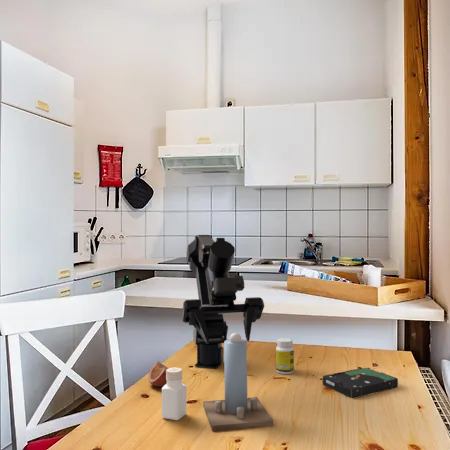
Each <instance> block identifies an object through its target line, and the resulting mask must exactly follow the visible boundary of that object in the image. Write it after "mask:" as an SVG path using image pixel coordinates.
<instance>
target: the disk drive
mask: <svg viewBox="0 0 450 450" xmlns="http://www.w3.org/2000/svg"><path fill="white" fill-rule="evenodd" d="M322 385H323V386H324V387H327V388H328V389H331V390H333V391H335V392H336V393H339V394H341V395H344V396H346V397H348V398H350V399H357V398H361V397H364V395H365V396H368V394H369V395H372V393H373V394H377V393H381V392H384V391H388V390H394V389H396V388H397V389H398V388H399V378H397V377H394V376H392V375H390V374H386V373H384V372H383V371H382V372H380V371H377V370H374V369H371V367H359V368H356V369H351V370H345V371H341V372H336V373H330V374H325V375H322ZM376 392H377V393H376ZM356 397H357V398H356Z"/></svg>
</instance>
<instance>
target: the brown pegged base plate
mask: <svg viewBox="0 0 450 450" xmlns="http://www.w3.org/2000/svg"><path fill="white" fill-rule="evenodd" d="M202 408H203V409H204V413H205V415H206V418H207V420H208V424H209V426H210V429H211V431H212V432H217V431H219V432H220V431H228V430H229V431H230V430H241V429H249V428H252V429H253V428H260V427H270V426H271V427H272V426H273V427H274V419H273V418H272V416H271V415H270V414H269V412H268V411H267V409H266V408H265V406H264V405H263V403H262V402H261V401H260V399H259V397H257V396H254V397H247V412H246V413H244V407H241V406H240V407H237V415H232V414H228V413H226V412H225V399H218V400H217V399H216V400H204V401H202Z"/></svg>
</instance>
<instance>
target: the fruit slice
mask: <svg viewBox="0 0 450 450" xmlns="http://www.w3.org/2000/svg"><path fill="white" fill-rule="evenodd" d="M169 368H170V367H167V366H166V365H165V364H164V363H161V362H160V361H159V360H156V361H155V363H154V364H153V365H152V366H151V367H150V370H149V373H148V377H147V379H148V382H149V384H150V385H152V386H154V387H158V388H159V387H161V388H162V387H163V386H165V385H166V384H167V380H166V370H167V369H169Z"/></svg>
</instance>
